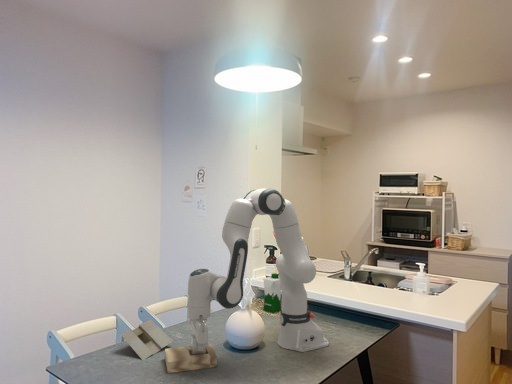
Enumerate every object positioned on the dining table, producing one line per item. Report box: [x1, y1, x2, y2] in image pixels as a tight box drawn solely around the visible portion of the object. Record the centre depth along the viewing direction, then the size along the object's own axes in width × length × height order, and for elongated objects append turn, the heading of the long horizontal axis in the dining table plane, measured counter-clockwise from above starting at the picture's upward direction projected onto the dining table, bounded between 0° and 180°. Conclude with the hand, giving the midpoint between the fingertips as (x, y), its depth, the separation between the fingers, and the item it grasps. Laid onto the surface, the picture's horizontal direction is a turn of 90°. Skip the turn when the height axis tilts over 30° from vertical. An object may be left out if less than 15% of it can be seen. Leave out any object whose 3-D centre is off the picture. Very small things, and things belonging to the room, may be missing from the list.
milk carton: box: [262, 272, 282, 314], centre depth 211 cm, size 9×9×20 cm
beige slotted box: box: [120, 319, 174, 361], centre depth 159 cm, size 16×9×15 cm
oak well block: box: [164, 343, 218, 374], centre depth 146 cm, size 18×12×4 cm, turn 108°
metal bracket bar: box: [190, 334, 206, 356], centre depth 147 cm, size 5×4×8 cm
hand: (198, 347), depth 147 cm, fingers closed on metal bracket bar, 4 cm apart
